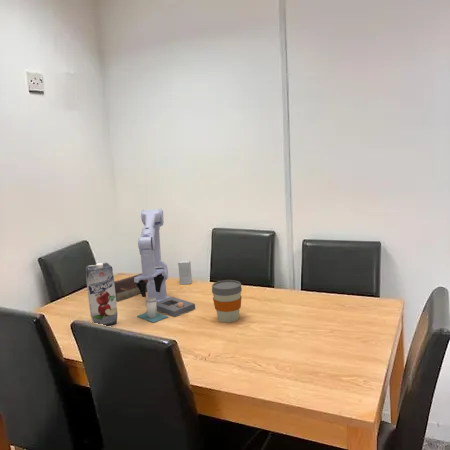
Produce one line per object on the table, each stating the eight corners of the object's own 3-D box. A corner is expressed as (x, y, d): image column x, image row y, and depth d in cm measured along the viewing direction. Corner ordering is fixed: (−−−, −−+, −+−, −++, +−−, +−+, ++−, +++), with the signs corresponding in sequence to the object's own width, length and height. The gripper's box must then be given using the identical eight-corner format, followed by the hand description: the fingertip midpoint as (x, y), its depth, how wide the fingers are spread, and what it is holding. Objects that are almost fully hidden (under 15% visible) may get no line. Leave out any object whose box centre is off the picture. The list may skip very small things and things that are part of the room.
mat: (136, 316, 206) (136, 315, 206) (151, 311, 212) (151, 310, 212) (153, 323, 198) (153, 322, 198) (168, 317, 204) (168, 316, 204)
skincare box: (192, 281, 253) (190, 260, 251) (190, 284, 249) (189, 262, 246) (181, 282, 253) (179, 260, 251) (179, 284, 249) (177, 262, 247)
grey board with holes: (152, 309, 215) (152, 303, 214) (172, 301, 223) (172, 296, 223) (174, 317, 204) (174, 311, 203) (195, 308, 212) (194, 303, 212)
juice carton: (90, 323, 202) (83, 262, 198) (114, 317, 207) (108, 258, 202) (94, 329, 195) (87, 267, 190) (119, 324, 199) (113, 262, 194)
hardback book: (142, 281, 261) (141, 272, 260) (164, 287, 248) (163, 278, 247) (96, 295, 240) (95, 286, 239) (117, 303, 227) (116, 293, 227)
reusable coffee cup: (223, 311, 207) (221, 278, 205) (248, 315, 201) (246, 281, 198) (208, 321, 197) (205, 287, 194) (234, 326, 190) (231, 290, 188)
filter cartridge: (145, 316, 205) (143, 299, 203) (153, 313, 208) (151, 296, 207) (151, 318, 202) (149, 301, 200) (159, 315, 205) (158, 298, 203)
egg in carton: (176, 310, 210) (176, 303, 209) (181, 309, 212) (180, 301, 211) (180, 311, 208) (179, 304, 208) (184, 310, 210) (183, 302, 209)
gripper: (139, 269, 193) (142, 300, 196) (167, 261, 203) (169, 291, 206) (130, 266, 198) (133, 297, 201) (157, 259, 208) (160, 288, 211)
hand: (151, 294), depth 203 cm, fingers open, 7 cm apart
